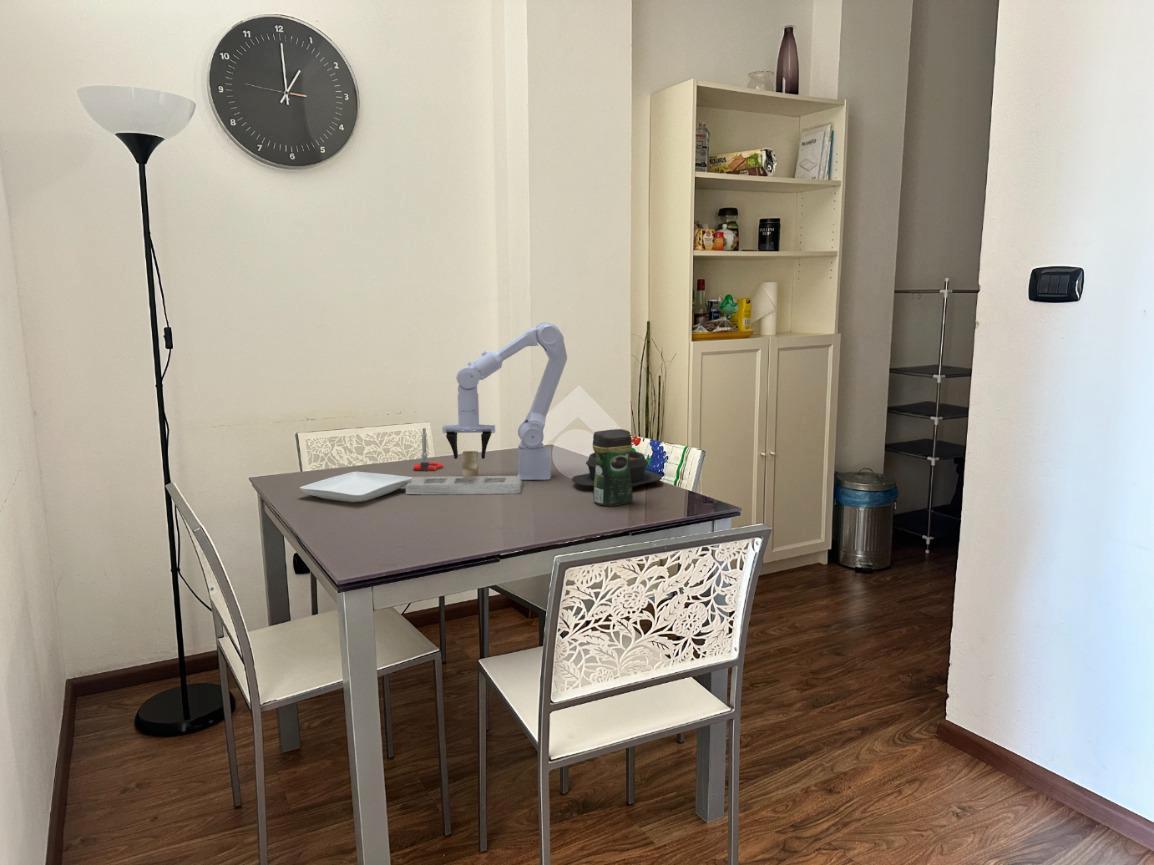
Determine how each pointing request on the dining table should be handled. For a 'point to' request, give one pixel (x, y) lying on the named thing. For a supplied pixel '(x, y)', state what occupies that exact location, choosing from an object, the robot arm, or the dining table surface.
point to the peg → (470, 463)
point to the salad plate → (356, 486)
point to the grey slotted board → (465, 485)
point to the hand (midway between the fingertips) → (469, 458)
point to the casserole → (636, 471)
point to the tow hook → (424, 464)
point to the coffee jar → (612, 467)
